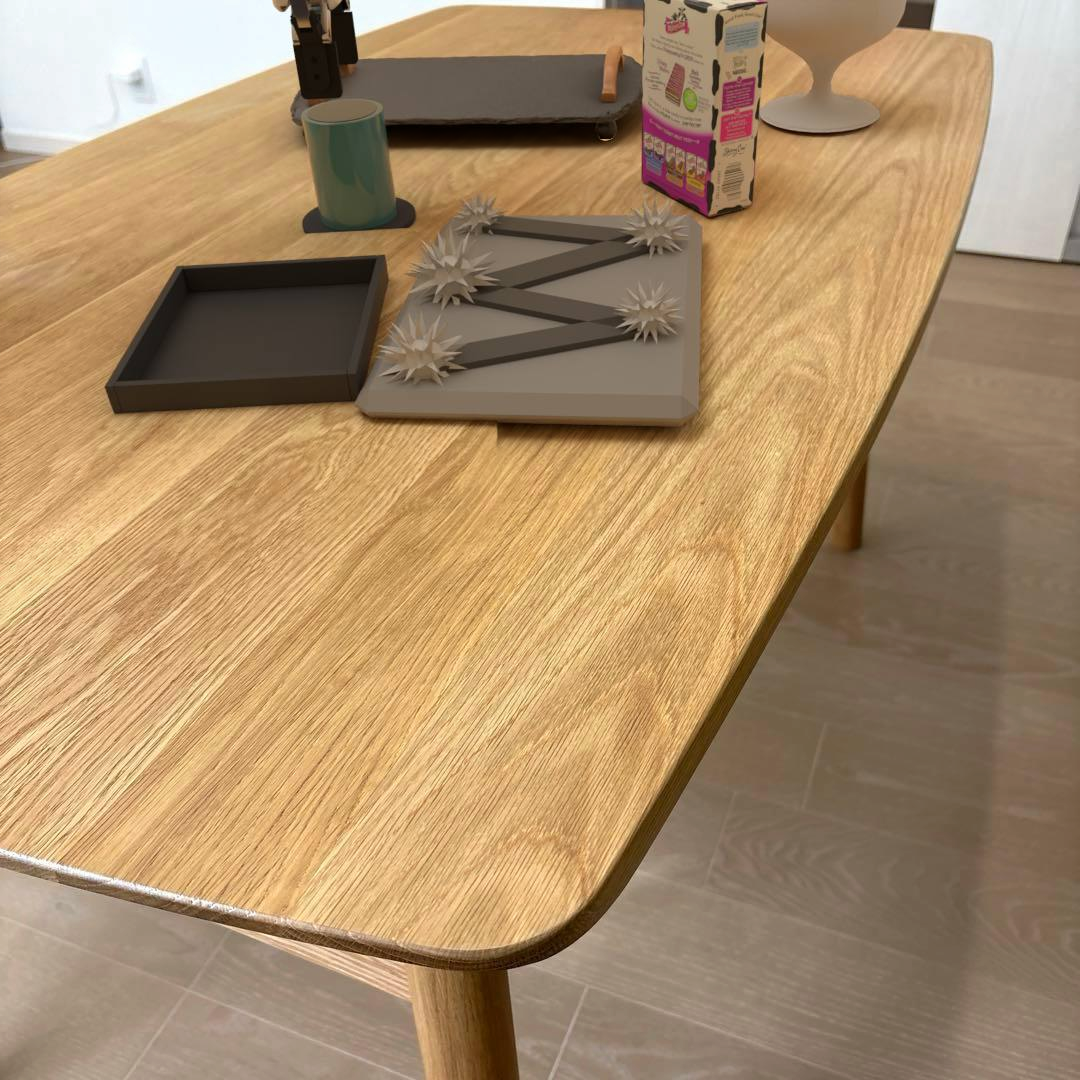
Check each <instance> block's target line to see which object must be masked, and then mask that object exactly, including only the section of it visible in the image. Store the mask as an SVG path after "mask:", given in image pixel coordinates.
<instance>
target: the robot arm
mask: <svg viewBox="0 0 1080 1080" xmlns="http://www.w3.org/2000/svg"><path fill="white" fill-rule="evenodd" d="M271 1H272V5H273V7H274V8H275V9H276V10H277V11H278V12H280V13H285V12H286V11H287V10H288V9H289V8H290V15H289V17H290V19H289V21H290V25H291V26H290V27H291V40H292V49H293V54H294V61H295V67H296V71H297V78H298V84H299V90H300V91H301V96H302V97H303V98H304V99H307V100H309V99H332V98H340V97H341V96H342V94H343V87H342V80H341V73H340V66H339V65H349V64H356V63H357V61H358V59H359V52H358V44H357V37H356V29H355V21H354V15H353V11H351V0H271Z"/></svg>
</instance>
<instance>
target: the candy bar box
mask: <svg viewBox="0 0 1080 1080" xmlns="http://www.w3.org/2000/svg"><path fill="white" fill-rule="evenodd" d="M642 3H643V4H642V5H643V6H642V7H643V10H642V11H643V14H642V15H643V17H642V18H643V19H642V20H643V21H642V66H643V72H642V102H641V160H640V161H641V166H640V167H641V173H640V174H641V175H640V180H641V182H642V183H644V184H646V185H648V186H649V185H650V187H651V186H652V187H651V188H653V187H654V188H653V189H655V190H657V191H659V192H661V193H662V192H663V193H662V194H664V193H665V195H666V196H668V195H669V196H668V197H670V198H671V199H674V200H675V201H677V200H678V202H679V201H680V202H679V203H681V202H682V204H683V203H684V204H683V205H685V206H687V207H688V208H691V209H693V210H694V209H695V211H697V212H699V213H700V214H702V215H704V216H706V217H708V218H711V217H712V218H713V217H715V216H720V215H724V214H729V213H733V212H736V211H740V209H741V210H743V208H744V209H747V208H750V207H752V206H753V204H754V203H753V200H754V189H755V188H754V187H755V175H756V174H755V173H756V162H757V150H758V149H757V148H758V134H759V133H758V132H759V125H760V124H759V123H760V116H759V110H760V109H761V106H760V105H761V97H762V85H763V73H764V58H765V48H766V35H767V33H766V22H767V8H768V1H764V0H643V1H642ZM732 211H733V212H732Z"/></svg>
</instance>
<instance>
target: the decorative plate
mask: <svg viewBox="0 0 1080 1080" xmlns="http://www.w3.org/2000/svg"><path fill="white" fill-rule="evenodd" d="M492 192H493V191H491V192H490V194H489V195H488V196H487V197H486V198H485V200H484V201H483V198H482V192H481V191H479V192H478V191H477V195H476V197H475V196H474V194H473V193H471V199H472V200H471V199H470V198H469V197H467V200H468V202H467V201H466V200H465V199H464V198H463V197H461V199H462V200H459V202H460V203H461V205H462V206H463V207H462V206H460V205H458V208H460V210H455V209H453V212H455V213H457V214H458V215H452V216H451V217H450V218H449V220H448V221H447V222H445V223H444V225H443V226H441V228H440V230H439V231H437V236H436V238H435V241H434V242H433V241H432V240H431V239H430V238H428V240H429V243H430V245H431V246H430V245H428V244H427V243H426V242H425V241H424V240H422V239H421V238H419V240H420V241H421V243H422V244H423V246H424V247H425V248H424V247H422V246H420V245H419V244H418V243H417V242H415V244H416V246H417V247H418V249H419V250H420V252H421V253H422V254H421V253H419V252H415V253H416V254H417V255H418V256H419V257H420V258H421V260H422V261H423V262H418V261H412V260H411V261H410V260H406V262H407V263H409V264H411V265H413V266H416V267H414V268H407V270H409V271H412V272H406V273H403V275H406V276H409V277H413V278H416V279H415V281H414V282H413V284H412V286H411V288H410V291H408V292H406V295H407V297H406V299H405V301H404V303H403V304H402V307H401V309H400V311H399V313H398V315H397V317H396V318H395V321H394V322H392V321H390V323H391V324H392V327H391V329H389V327H386V326H385V328H386V329H387V331H388V332H389V333H387V337H386V339H385V341H384V343H383V345H378V344H376V346H378V347H380V348H381V350H379V353H378V355H377V356H375V358H376V359H375V361H374V363H373V365H372V367H371V369H370V370H369V373H368V374H367V376H366V381H365V383H364V385H363V387H362V389H361V391H360V393H359V395H358V397H357V399H356V401H354V406H355V408H357V409H358V410H360V411H361V412H362V413H364V415H367V417H370V418H371V419H401V420H402V419H404V420H405V419H407V420H408V419H409V420H411V419H412V420H446V421H448V420H453V421H454V420H455V421H490V422H491V421H495V422H496V423H499V424H501V423H502V424H536V425H537V424H540V425H541V424H542V425H543V424H544V425H584V426H585V425H587V426H588V425H589V426H628V427H629V426H631V427H632V426H633V427H634V426H635V427H672V428H673V427H678V428H681V427H682V426H684V425H685V424H686V423H687V422H689V421H690V420H691V419H693V418H695V416H697V415H698V414H699V413H700V412H699V410H700V371H701V370H700V368H701V366H700V365H701V364H700V363H701V320H702V319H701V314H702V311H701V310H702V268H703V267H702V266H703V262H702V260H703V259H702V258H703V226H702V225H701V224H700V223H699V222H698V221H697V220H696V219H694V217H692V215H690V214H673V213H674V212H675V210H676V208H677V206H678V203H679V202H678V203H676V204H675V205H674V206H673V207H672V208H671V206H672V205H669V203H670V202H669V201H670V199H668V200H667V201H666V203H665V204H664V206H663V208H662V209H661V211H660V208H658V202H657V195H654V200H653V207H652V212H651V210H650V208H649V206H648V204H647V202H646V200H645V198H643V201H644V203H643V204H642V209H643V213H644V214H643V213H641V212H640V211H639V210H638V209H637V208H636V207H634V205H631V207H630V209H631V211H632V212H633V214H608V215H607V214H602V215H601V214H595V215H594V214H590V215H589V214H588V215H587V214H586V215H585V214H583V215H582V214H579V215H578V214H577V215H575V214H571V215H569V214H565V215H560V214H559V215H558V214H557V215H506V214H505V213H507V212H508V210H505V211H501V212H498V211H500V210H502V208H504V207H505V206H506V204H504V205H501V206H499V207H497V208H494V209H493V206H494V204H495V202H496V199H497V197H498V195H497V196H495V197H494V198H493V199H492V200H491V196H492ZM490 200H491V202H490Z"/></svg>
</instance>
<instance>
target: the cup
mask: <svg viewBox="0 0 1080 1080" xmlns="http://www.w3.org/2000/svg"><path fill="white" fill-rule="evenodd" d="M301 118H302V124H303V126H302V129H304V134H305V138H304V139H305V144H306V150H307V154H308V155H307V156H308V160H309V165H310V171H311V177H312V182H313V187H314V192H315V197H316V198H315V199H316V203H317V207H318V209H319V214H320V219H321V222H322V224H323V225H324V226H326V227H328V228H331V229H334V230H340V231H348V232H360V231H359V230H366V229H371V228H375V227H378V226H381V225H384V224H386V223H388V222H390V221H391V220H393V219H394V218H395V217H396V215H397V212H398V210H397V203H396V197H397V196H396V190H395V189H396V188H395V183H394V175H393V168H392V162H391V154H390V147H389V140H388V134H387V133H388V132H387V125H385V118H384V111H383V106H382V105H381V104H380V103H378V102H376V101H372V100H366V99H341V100H334V101H328V102H324V103H320V104H317V105H314V106H312V107H310V108H308V109H306V110H305V111H304V112H303V113H302V115H301ZM366 231H367V230H366Z"/></svg>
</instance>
